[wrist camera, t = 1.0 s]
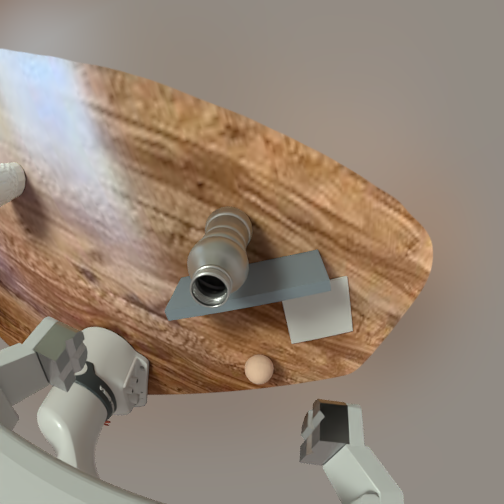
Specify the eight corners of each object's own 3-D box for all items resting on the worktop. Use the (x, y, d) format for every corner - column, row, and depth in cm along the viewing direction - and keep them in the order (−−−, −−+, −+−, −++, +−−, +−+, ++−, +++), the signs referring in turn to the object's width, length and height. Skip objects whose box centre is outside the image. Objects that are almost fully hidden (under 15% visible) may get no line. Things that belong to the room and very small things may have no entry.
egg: (246, 347, 56) (244, 369, 50) (274, 349, 56) (275, 371, 50) (244, 367, 58) (243, 389, 52) (271, 369, 58) (272, 391, 52)
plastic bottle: (219, 195, 46) (188, 245, 27) (261, 215, 46) (258, 278, 28) (201, 232, 48) (163, 302, 29) (241, 252, 49) (228, 331, 30)
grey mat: (352, 329, 54) (352, 330, 53) (291, 342, 55) (291, 343, 55) (346, 275, 50) (347, 276, 49) (279, 289, 51) (279, 291, 51)
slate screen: (323, 283, 50) (334, 318, 41) (192, 308, 53) (179, 345, 44) (317, 249, 48) (329, 279, 39) (181, 277, 51) (164, 311, 42)
